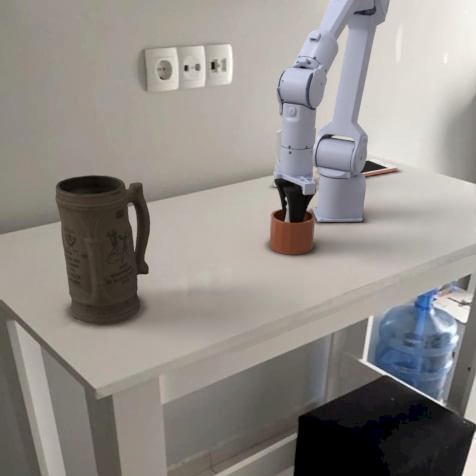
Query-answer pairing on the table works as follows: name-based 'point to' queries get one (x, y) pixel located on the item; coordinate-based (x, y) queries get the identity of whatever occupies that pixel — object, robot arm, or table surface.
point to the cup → (291, 234)
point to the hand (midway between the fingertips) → (292, 221)
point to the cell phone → (377, 167)
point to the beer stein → (102, 246)
